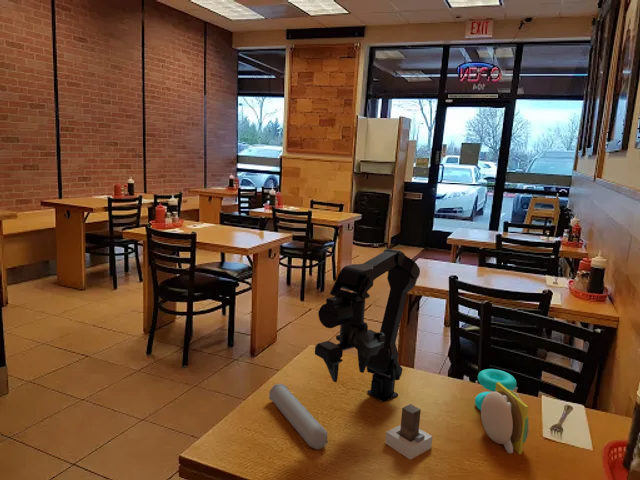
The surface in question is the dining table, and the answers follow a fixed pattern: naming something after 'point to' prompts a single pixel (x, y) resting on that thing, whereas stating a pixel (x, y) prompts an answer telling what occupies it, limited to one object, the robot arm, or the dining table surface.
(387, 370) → the robot arm
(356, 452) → the dining table surface
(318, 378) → the dining table surface
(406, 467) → the dining table surface
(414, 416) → the dark brown wooden beam
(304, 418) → the tube
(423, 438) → the white square frame
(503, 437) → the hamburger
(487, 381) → the donuts
